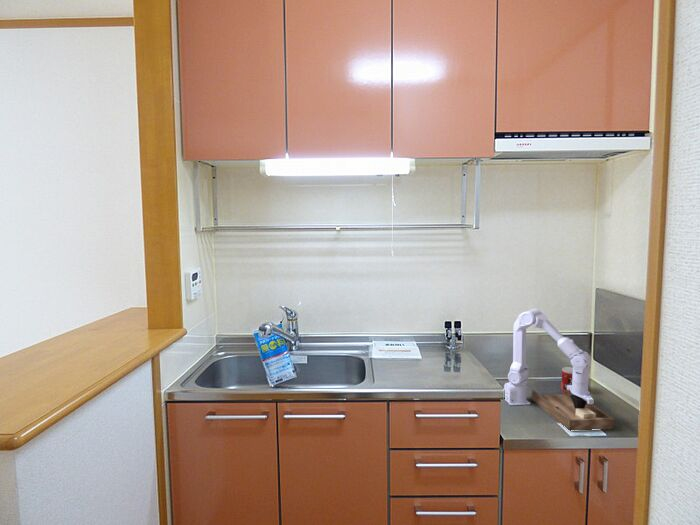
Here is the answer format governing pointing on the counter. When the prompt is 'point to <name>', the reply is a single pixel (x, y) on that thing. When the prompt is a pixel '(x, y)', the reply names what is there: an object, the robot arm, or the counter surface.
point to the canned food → (566, 378)
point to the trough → (571, 412)
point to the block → (584, 413)
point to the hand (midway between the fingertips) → (578, 413)
